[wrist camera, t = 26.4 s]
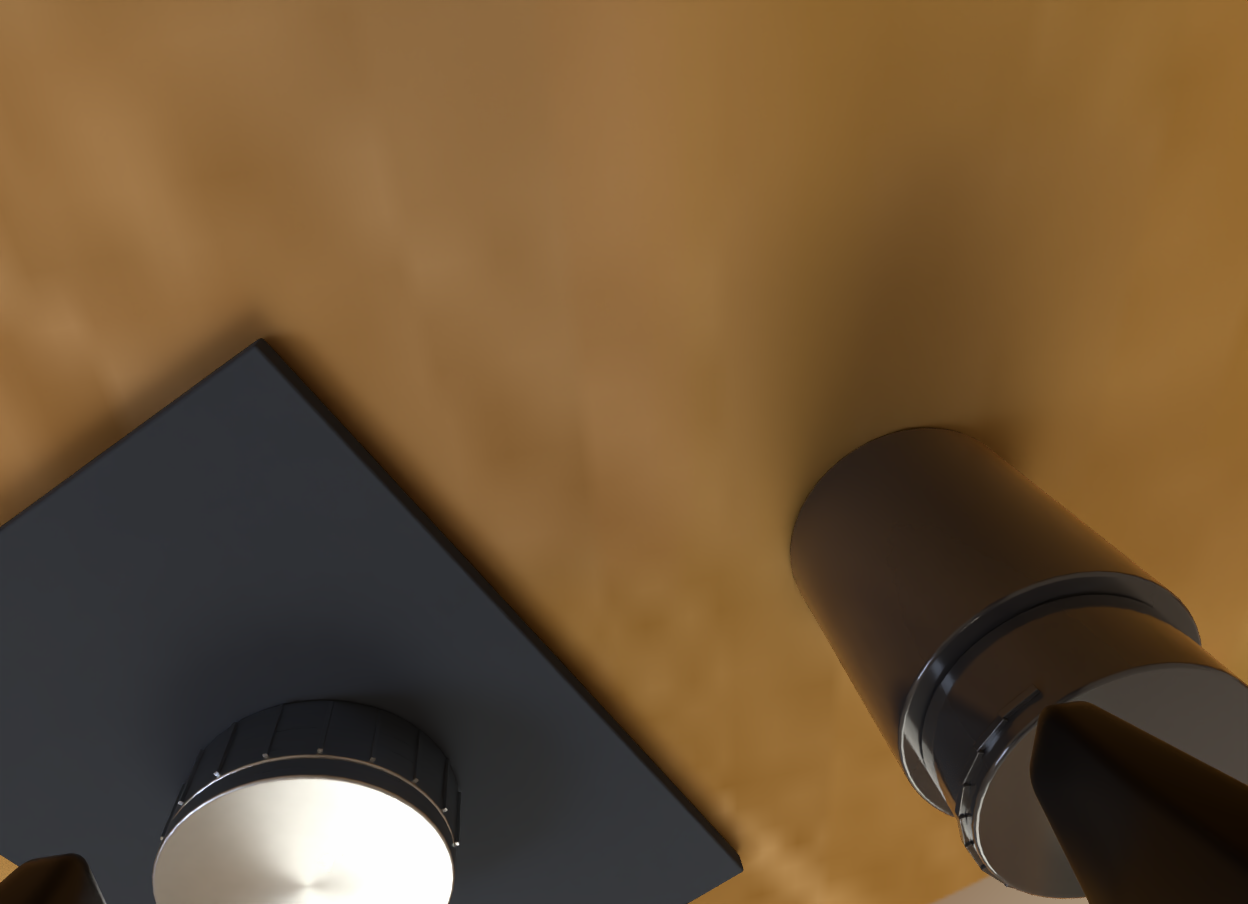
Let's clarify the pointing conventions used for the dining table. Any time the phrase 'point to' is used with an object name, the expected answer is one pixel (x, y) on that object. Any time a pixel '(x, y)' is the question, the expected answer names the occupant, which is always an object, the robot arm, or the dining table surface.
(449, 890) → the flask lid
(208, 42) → the dining table surface
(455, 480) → the dining table surface
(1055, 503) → the dark brown cylinder
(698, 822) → the slate mat
